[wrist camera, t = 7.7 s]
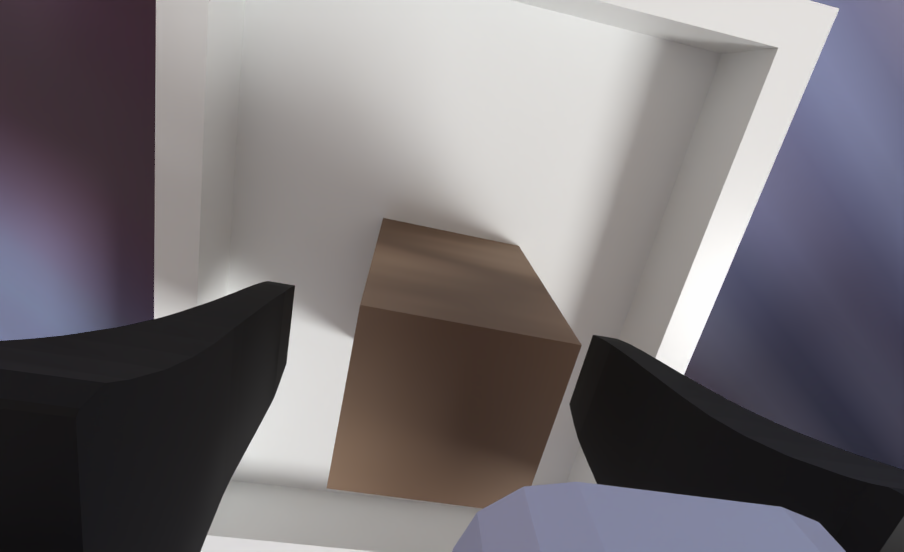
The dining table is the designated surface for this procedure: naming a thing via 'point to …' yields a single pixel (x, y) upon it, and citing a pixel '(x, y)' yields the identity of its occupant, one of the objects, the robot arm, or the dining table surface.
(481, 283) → the walnut block
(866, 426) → the dining table surface
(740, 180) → the tray
